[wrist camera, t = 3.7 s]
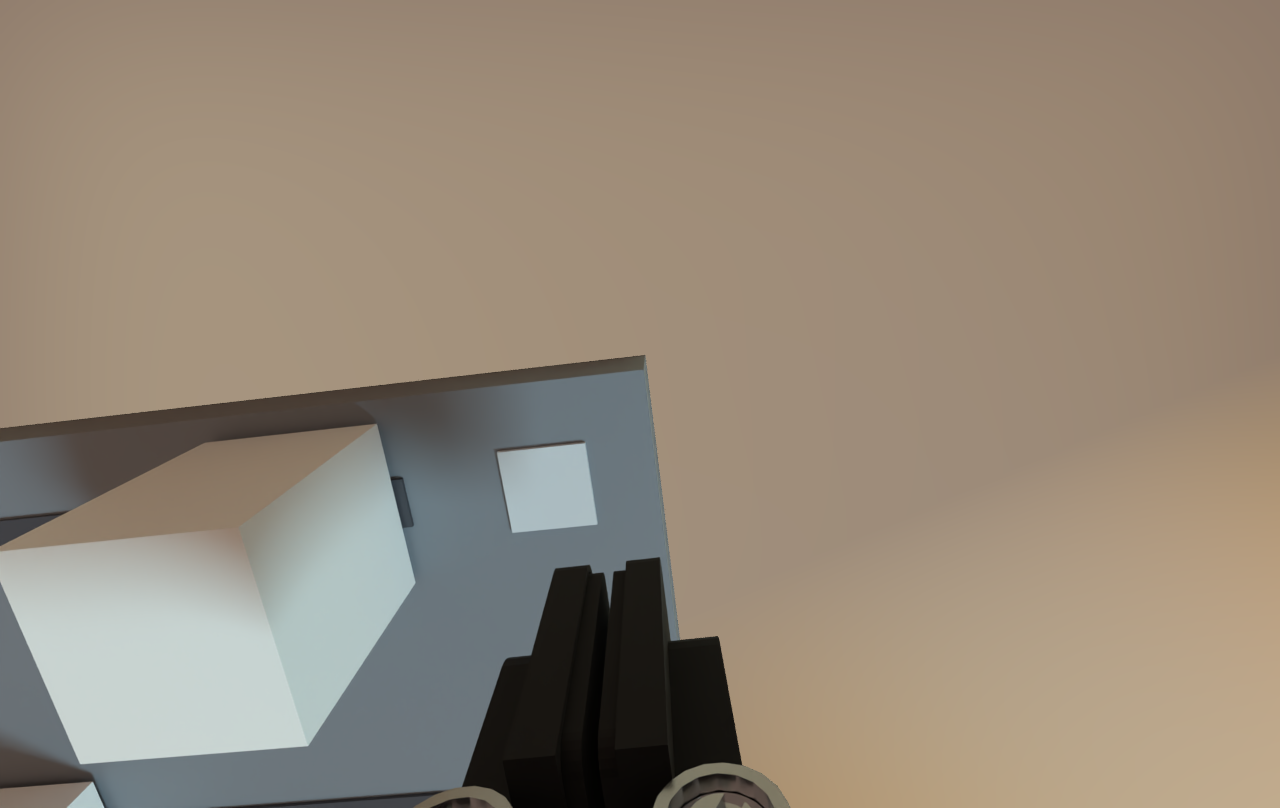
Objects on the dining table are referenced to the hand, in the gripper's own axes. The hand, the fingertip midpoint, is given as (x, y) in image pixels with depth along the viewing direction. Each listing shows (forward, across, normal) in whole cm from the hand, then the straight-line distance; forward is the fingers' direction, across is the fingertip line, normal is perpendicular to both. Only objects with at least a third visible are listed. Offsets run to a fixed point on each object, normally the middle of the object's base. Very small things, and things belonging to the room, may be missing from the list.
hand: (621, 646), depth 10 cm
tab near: (+5, +7, -1) cm, 9 cm away
